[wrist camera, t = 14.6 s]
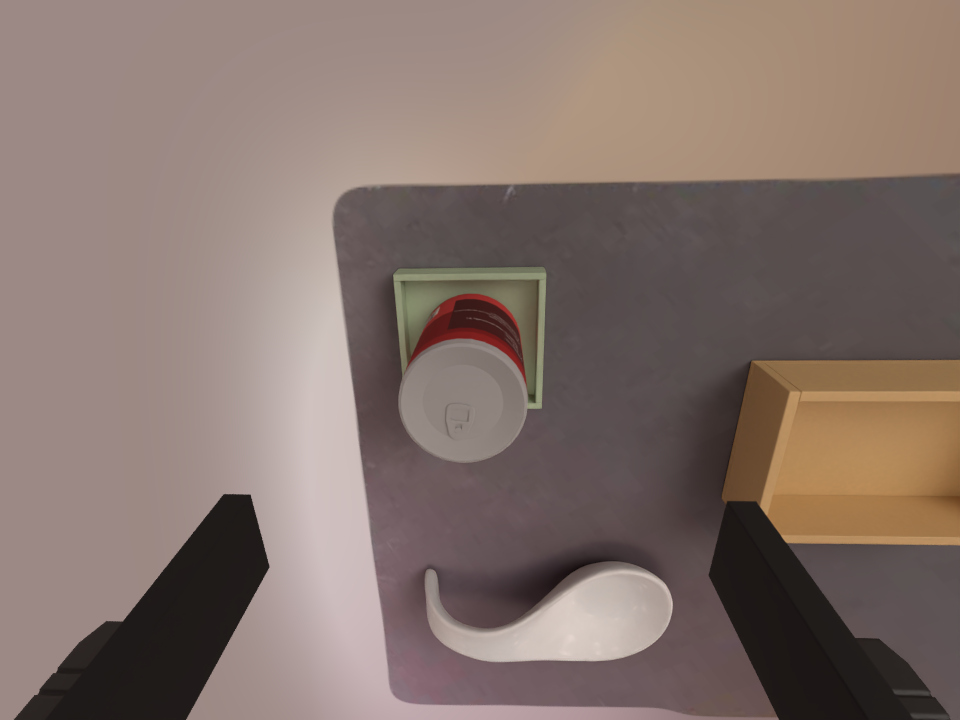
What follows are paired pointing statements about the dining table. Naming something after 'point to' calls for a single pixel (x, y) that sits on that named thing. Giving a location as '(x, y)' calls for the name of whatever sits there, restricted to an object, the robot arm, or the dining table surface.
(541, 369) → the tray
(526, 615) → the spoon rest
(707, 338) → the dining table surface
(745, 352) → the dining table surface
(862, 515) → the open wooden box
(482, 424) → the canned food
